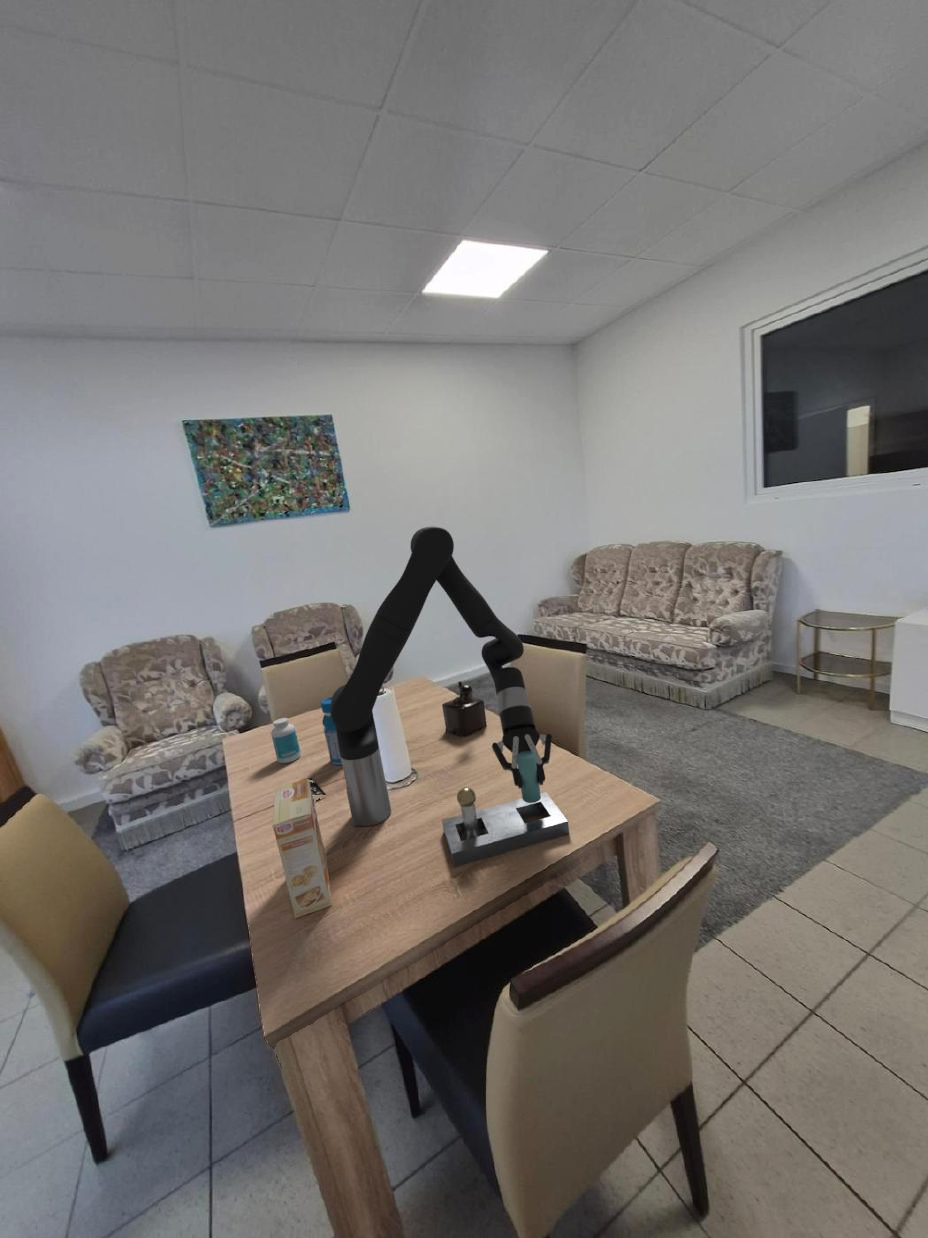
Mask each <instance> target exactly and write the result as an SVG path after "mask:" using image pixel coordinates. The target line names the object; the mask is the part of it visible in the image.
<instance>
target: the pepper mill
mask: <svg viewBox="0 0 928 1238" xmlns="http://www.w3.org/2000/svg"><path fill="white" fill-rule="evenodd" d="M457 689H459V696H457V697H455V698H453V699H452V700H449V701H447V702H444V703H442V712H443V713H442V714H443V718H444V720H443V721H444V727H445V730H446V731H447V732H449V733H451V734H452V735H453V734H454V735H456V736H460V737H467V736H471V735H473V734H475V733H477V732H479V731H481V730H483V729H485V728H486V727H488V724H487V718H486V717H487V716H486V709H485V702H484V700H482V699H479V698H476V697H473V687H472V686H471V685H469V684H464V685H463V683H462V681H458V688H457Z"/></svg>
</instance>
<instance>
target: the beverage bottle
mask: <svg viewBox="0 0 928 1238" xmlns="http://www.w3.org/2000/svg"><path fill="white" fill-rule="evenodd" d="M331 700H332V696H330V697H327V698H325V699H323V700H321V702H320V707H321V710H322V713H323V714H324V715H323V717H322V723H321V724H322V726H323V727H324V728H323V734H324V736H325V737H324V738H325V741H326V745H327V751H328V754H329V759H330V763H331V764H332V765H336V766H338V765H339V766H340V765H342V761H341V756H340V752H339V747H338V738H337V731H336V726H335V725H334V723H333V721H332V719H331V715H330V707H331Z"/></svg>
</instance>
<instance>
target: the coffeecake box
mask: <svg viewBox="0 0 928 1238" xmlns="http://www.w3.org/2000/svg"><path fill="white" fill-rule="evenodd" d="M272 814H273V815H272V824H271V825H272V828H273V831H274V832H273V833H274V835H275V836H274V837H275V840H276V845H277V849H278V854H279V856H280V860H281V864H282V865H281V866H282V868H283V874H284V877H285V883H286V886H287V887H286V888H287V890H288V894H289V899H290V902H291V903H290V904H291V906H292V911H293V915H294V916H293V917H294V919H295V920H296V919H298V918H300V917H303V916H306V915H308V914H312V913H315V912H317V911H320V910H323V909H325V908H329V907H331V906H332V905H333V901H332V891H331V883H330V876H329V867H328V866H329V865H328V859H327V855H326V852H325V846H324V843H323V838H322V834H321V829H320V823H319V819H318V816H317V815H318V814H317V811H316V807H315V803H314V801H313V796H312V792H311V787H310V782H309V779H308V778H306V779H302V780H299V781H295V782H292V783H289V784H285V785H282V786H277V787H275V791H274V801H273V813H272Z"/></svg>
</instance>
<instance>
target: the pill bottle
mask: <svg viewBox="0 0 928 1238" xmlns="http://www.w3.org/2000/svg"><path fill="white" fill-rule="evenodd" d="M270 735H271V736H270V737H271V739H272V743H273V744H272V745H273V747H274V751H275V757H276V759H277V762H278V763H279V764H287V763H293V762H294V761H297V760H298V759H299V758H300V757H301V755H302V753H301V749H300V745H299V739H298V734H297V731H296V727H295V725H294V724H293V723H290V721H289V718H288V717H282V718H278V719H275V721H273V728H272V729H271V732H270Z"/></svg>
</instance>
